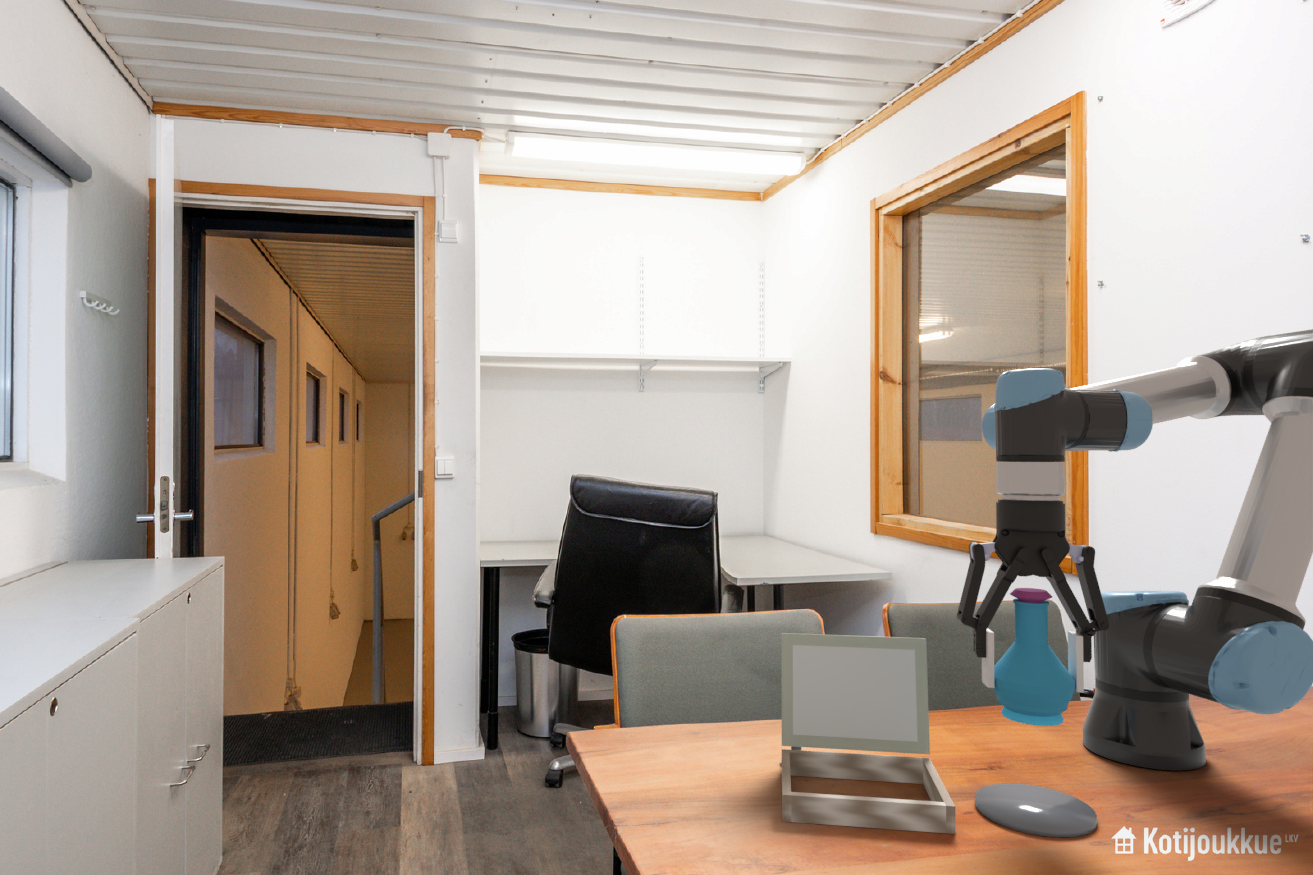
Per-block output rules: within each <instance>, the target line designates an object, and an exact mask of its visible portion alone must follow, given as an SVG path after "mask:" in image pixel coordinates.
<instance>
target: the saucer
mask: <svg viewBox="0 0 1313 875" xmlns="http://www.w3.org/2000/svg"><path fill="white" fill-rule="evenodd" d="M974 805H975V808H976V809H977V811H978V813H980V814H982V816H984V817H986V818H987V819H989V820H990V821H992V822H994V823H996V824H998V825H1000V826H1002V827H1005V828H1008V829H1011V830H1015V831H1018V832H1020V833H1024V834H1025V833H1026V834H1030V835H1036V836H1042V837H1050V838H1074V837H1075V838H1076V837H1081V836H1086V835H1088V834H1090V833H1092V832H1093V831H1095V829H1097V826H1098V821H1097V820H1098V819H1097V817H1098V816H1097V813H1096V811H1095V809H1093V807H1092V806H1090V805H1089V804H1087V803H1086V802H1085V801H1083V800H1081V799H1079V798H1077V797H1076V796H1073V795H1071V794H1068V793H1065V792H1062V791H1059V790H1056V789H1052V788H1049V787H1044V786H1038V785H1033V784H1025V783H1017V782H1016V783H1012V782H1011V783H1009V782H1007V783H1006V782H1004V783H1002V782H1001V783H994V784H989V785H986V786H983V787H981V788H979V789H978V790H977V791H976V792H975V795H974Z"/></svg>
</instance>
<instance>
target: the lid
mask: <svg viewBox="0 0 1313 875" xmlns="http://www.w3.org/2000/svg"><path fill="white" fill-rule="evenodd" d="M927 653H928V652H927V638H926V637H925V638H924V637H901V636H900V637H896V636H872V635H871V636H870V635H843V634H842V635H841V634H840V635H839V634H820V633H819V634H817V633H814V634H813V633H793V632H792V633H790V632H789V633H787V632H781V746H782V747H791V746H794V747H801V748H811V749H812V748H813V749H831V750H833V749H834V750H849V751H864V752H865V751H866V752H880V753H882V752H883V753H899V754H912V755H913V754H918V755H931V747H930V741H931V740H930V717H929V713H930V711H929V688H928V687H929V686H928V683H929V682H928V679H929V678H928V657H927V655H928V654H927Z"/></svg>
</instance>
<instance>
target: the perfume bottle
mask: <svg viewBox="0 0 1313 875" xmlns="http://www.w3.org/2000/svg"><path fill="white" fill-rule="evenodd" d="M1009 595H1011V596H1012V597H1014V598H1013V600H1012V603H1014V642H1013V643H1012V644H1011V645H1010V647H1009V648H1008V649H1007V650H1006V652H1004V654H1003V655H1002V656H1001V658H1000V659H999V660H998V661H997V662H996V664H994V688H992V689H993V691H994V692H995V694H996V700H997V702H998V703H999V704H1001V705H1002V706H1003V707H1002V709H1001V715H1002V716H1003V717H1004V718H1006V719H1008V720H1010V721H1013V722H1016V723H1021V724H1023V725H1024V724H1025V725H1030V726H1037V727H1038V726H1040V727H1041V726H1042V727H1053V726H1059V725H1061V724H1063V723H1064V717H1063V715H1062V713H1064V712H1066V711H1068V708H1069V707H1068V706H1069V703H1070V702H1071V700H1072V699H1073V696H1074V693H1075V680H1074V679H1073V677H1072V676H1071V675H1070V673H1069V672H1068V668H1066V666H1065V665H1064V664H1063V663H1062V661H1061V660H1060V658H1059V657H1058V655H1056V653H1055V652H1054V650H1053V649H1052V647H1051V646H1050V645H1049V636H1048V635H1049V634H1048V633H1049V630H1048V629H1049V628H1048V627H1049V622H1048V621H1049V620H1048V618H1049V617H1048V614H1049V613H1048V608H1049V606H1050V601H1048V600H1049V599H1053V596H1052V595H1051V593H1049V592H1048V591H1047V590H1046V589H1041V588H1031V587H1016V588H1015V589H1013V590H1012V591H1011V592H1010V593H1009Z"/></svg>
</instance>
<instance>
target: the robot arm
mask: <svg viewBox="0 0 1313 875" xmlns="http://www.w3.org/2000/svg"><path fill="white" fill-rule="evenodd" d="M995 384H996V385H995V398H994V399H995V400H994V404H992V405H990V406H989V407H988V408H987V409H986V411H984V414H983V416H982V420H981V433H982V436H983V439H984V441H985V442H986V444H987V445H988V446H990V448H992V449H994V450H995V456H996V457H995V460H996V466H995V467H996V469H995V471H996V473H995V474H996V476H995V477H996V480H995V484H996V485H995V487H996V488H995V493H996V494H997V495H1001V498H1000V499H997V501H996V502H995V514H996V517H995V519H996V520H995V522H996V523H995V526H996V534H995V537H994V539H993V540H992V541H991V542H983V543H982V542H980V543H978V542H976V541H972V542H970V543H969V544H968V551H969V552H968V553H969V564H968V569H967V572H966V577H965V581H964V585H963V588H962V589H963V590H962V593H961V596H960V600H959V605H958V609H957V614H956V619H957V620H958V621H959V622H960V623H961V624H963V625H965V626H967V627H971V629H972V642H973V643H972V652H973V653H974V655H975V657H977V658H981V682H982V684H983V685H984V686H985V687H987V688H989V689H993V688H994V666H995V632H994V631H993V630H992V629H990V628H988V627H989V625H990V624H991V622H992V621H993V618H994V616H995V615H996V613H997V611H998V609H999V608H1000V605H1001V603H1002V602H1003V600H1004V598H1005V596H1006V594H1007V593H1008V591H1009V590H1010V587H1011V585H1012V584H1013V583H1014V582H1015V580H1016V579H1017V577H1031V576H1036V577H1038V578H1039V577H1040V578H1046V580H1047V581H1048V582H1049V584H1050V585H1051V587H1052V589H1053V591H1054V593H1055V595H1056V596H1057V598H1058V601H1059V602H1060V603H1061V606H1062V607H1063V609H1064V611H1065V613H1066V615H1067V616H1068V618H1069V620H1070V621H1071V624H1072V625H1073V627H1074V629H1075V631H1070V630H1069V631H1067V670H1068V672H1069V673H1070V675H1071V676H1072V677H1073V679H1074V680H1075V690H1074V692H1075V693H1082V694H1083V693H1085V691H1084V690H1085V689H1084V688H1085V687H1084V684H1085V682H1084V680H1085V679H1084V678H1085V677H1084V675H1085V674H1084V663H1091V661H1092V659H1093V654H1092V651H1093V653H1094V676H1095V677H1094V678H1095V679H1094V680H1095V684H1094V695H1093V698H1092V700H1091V703H1090V706H1089V708H1088V712H1087V714H1086V716H1085V720H1084V723H1083V724H1082V744H1083V746H1084V747H1085V748H1087V749H1088V750H1089V751H1091V752H1092V753H1094V754H1096V755H1099V756H1100V757H1102V758H1103V757H1104V758H1106V759H1109V760H1111V761H1115V762H1119V763H1122V764H1126V765H1130V766H1135V767H1141V768H1145V769H1153V770H1155V769H1156V770H1161V771H1162V770H1163V771H1165V770H1166V771H1189V770H1190V771H1191V770H1196V769H1199V768H1202V767H1204V766H1205V765H1206V763H1207V762H1206V761H1207V757H1206V756H1207V754H1206V745H1205V741H1204V739H1203V736H1202V733H1201V730H1200V728H1199V726H1198V723H1197V720H1196V718H1195V715H1194V711H1193V710H1192V707H1191V702H1190V695H1191V696H1193V697H1198V698H1201V699H1204V700H1207V701H1210V702H1214V703H1217V704H1221V705H1222V706H1224V707H1226V708H1228V709H1231V710H1236V711H1245V712H1248V713H1253V714H1259V715H1265V716H1266V715H1268V716H1269V715H1275V714H1281V712H1282V713H1283V711H1285V710H1289V709H1292V708H1293V707H1295V706H1296V705H1298V704H1299V702H1301V701H1302V700H1303V699H1304V698H1305V697H1306V696H1307V694H1308V692H1309V691H1310V690H1311V688H1312V686H1313V639H1312V638H1311V636H1310V635H1309V634H1308V633H1307V632H1306V630H1304V629H1305V625H1306V618H1305V617H1304V616H1303V614H1302V612H1300V610H1299V609H1298V607H1297V605H1296V603H1297V601H1298V597H1299V595H1300V592H1301V589H1302V586H1303V583H1304V580H1305V577H1306V574H1307V570H1308V568H1309V566H1310V562H1311V559H1312V555H1313V328H1312V329H1307V330H1300V331H1299V330H1298V331H1294V332H1288V333H1280V334H1274V335H1267V336H1266V335H1265V336H1261V337H1255V338H1252V339H1248V340H1244V341H1242V342H1238V343H1235V344H1232V345H1229V346H1226V347H1223V348H1219V349H1216V350H1212V351H1209V352H1206V353H1203V354H1202V353H1201V354H1199V355H1193V356H1189V357H1186V358H1184V359H1183V360H1181V361H1180V362H1178V363H1177V365H1176V366H1174V367H1173V366H1172V367H1168V368H1163V369H1159V370H1154V371H1149V372H1144V373H1140V374H1135V375H1129V376H1125V377H1121V378H1115V379H1110V380H1105V381H1101V382H1097V383H1092V384H1087V385H1081V386H1077V387H1072V388H1067V387H1066V384H1065V380H1064V374H1063V373H1062V371H1061V370H1059V369H1054V368H1042V367H1041V368H1022V369H1013V370H1006V371H1004V372H1002V373H1001V374H1000V375H999V376H998V377H997V379H996V383H995ZM1228 416H1230V417H1231V416H1264V417H1265V418H1266V419H1267V420H1268V421H1269V422H1270V426H1269V429H1268V431H1267V435H1266V437H1265V440H1264V442H1263V446H1262V447H1261V451H1260V455H1259V457H1258V459H1257V462H1256V465H1255V468H1254V471H1253V474H1252V477H1251V479H1250V482H1249V485H1248V487H1247V491H1246V493H1245V496H1244V499H1243V502H1242V504H1241V507H1240V510H1239V513H1238V515H1237V518H1236V521H1235V525H1234V527H1233V529H1232V532H1231V535H1230V538H1229V541H1228V542H1227V543H1228V544H1227V547H1226V550H1225V553H1224V555H1223V558H1222V559H1221V560H1222V561H1221V564H1220V567H1219V569H1218V572H1217V574H1216V578H1215V579H1214V580H1212V581H1209V582H1206V583H1203V584H1201V585H1199V586H1197V588H1196V592H1195V595H1194V597H1193V600H1192V603H1191V605H1190V604H1189V602H1190V600H1189V599H1188V595H1187V594H1186V593H1185V592H1184V591H1180V590H1179V591H1177V590H1131V591H1130V590H1125V591H1124V590H1119V591H1105V592H1101V589H1100V584H1099V582H1098V581H1099V580H1098V577H1097V573H1096V570H1095V556H1096V550H1095V548H1094V547H1093V546H1089V545H1087V544H1079V545H1077V544H1071V543H1069V541H1068V540H1067V538H1066V503H1064V501H1063V500H1061V498H1060V497H1061V496H1062V497H1063V496H1064V495H1066V479H1065V478H1066V476H1065V475H1066V473H1065V472H1066V471H1065V461H1066V459H1065V458H1066V457H1065V455H1066V452H1080V451H1081V452H1082V451H1083V452H1085V451H1089V452H1090V451H1108V452H1110V453H1111V452H1116V453H1117V452H1119V451H1131V450H1136V449H1137V448H1139V447H1140V446H1142V445H1143V444H1144V443H1145V442H1146V441H1147V440H1148V438H1149V436H1150V435H1151V432H1152V430H1153V426H1154V425H1155V424H1159V423H1164V422H1169V421H1172V420H1177V419H1182V418H1186V417H1190V418H1194V419H1197V420H1207V419H1214V418H1218V417H1228ZM992 553H995V555H997V557H998V558H999V560H1000V561H1001V562H1002V563H1001V564H1000V566H999V567H998V568H999V569H998V570H997V571H996V576H995V578H994V580H993V582H992V583H991V585H990V587H989V589H988V591H987V592H986V595H985V597H984V598H983V600H982V602H981V604H980V606H979V608H978V609H977V611H976V613H975V608H976V605H977V601H978V597H979V594H980V589H981V585H982V581H983V577H984V572H985V570H986V562H987V561H989V560H990V559H991V555H992ZM1068 555H1070V558H1071V559H1070V560H1071V561H1072V562H1073V563H1074V564H1075V569H1076V574H1077V577H1078V580H1079V585H1080V588H1081V593H1082V595H1083V599H1084V603H1085V608H1086V611H1087V615H1088V617H1087V616H1086V614H1085V612H1084V609H1083V608H1082V607H1081V605H1080V603H1079V601H1078V599H1077V597H1076V596H1075V594H1074V592H1073V590H1072V588H1071V587H1070V585H1069V583H1068V581H1067V577H1066V575H1065V573H1064V572H1063V570H1062V567H1061V563H1062V562H1063V561H1064V559H1065V558H1066V557H1067V556H1068ZM974 613H975V614H974ZM1088 618H1089V619H1088ZM1092 637H1093V641H1092ZM1092 642H1093V643H1092ZM1092 644H1093V649H1094V650H1092Z"/></svg>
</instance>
